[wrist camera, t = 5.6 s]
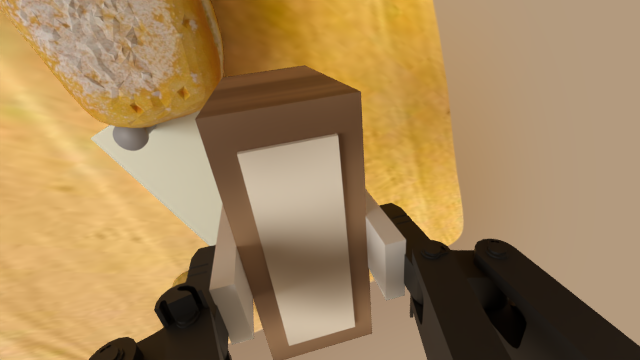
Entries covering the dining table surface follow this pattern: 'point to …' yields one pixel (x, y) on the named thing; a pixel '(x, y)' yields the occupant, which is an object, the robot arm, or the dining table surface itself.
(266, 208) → the brown block
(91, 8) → the bread
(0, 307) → the dining table surface
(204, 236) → the white board with pegs
